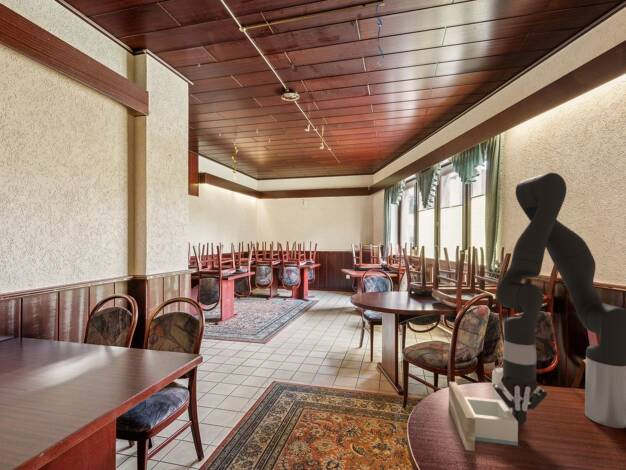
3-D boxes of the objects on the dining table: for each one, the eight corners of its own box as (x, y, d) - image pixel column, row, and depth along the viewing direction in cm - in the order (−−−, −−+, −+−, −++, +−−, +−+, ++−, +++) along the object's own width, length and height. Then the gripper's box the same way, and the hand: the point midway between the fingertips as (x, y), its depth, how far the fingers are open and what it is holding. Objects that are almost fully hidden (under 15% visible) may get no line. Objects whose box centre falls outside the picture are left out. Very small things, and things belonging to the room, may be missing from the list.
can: (520, 415, 97) (521, 374, 97) (498, 414, 97) (499, 373, 97) (508, 403, 104) (509, 365, 104) (487, 403, 104) (488, 365, 104)
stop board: (455, 408, 100) (455, 382, 100) (474, 451, 81) (475, 418, 81) (448, 407, 101) (448, 381, 101) (465, 449, 81) (466, 417, 81)
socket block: (501, 421, 94) (501, 400, 94) (517, 445, 83) (518, 421, 83) (460, 416, 96) (460, 396, 96) (470, 439, 85) (471, 416, 85)
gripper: (539, 354, 90) (539, 417, 90) (487, 351, 93) (487, 412, 93) (554, 365, 83) (554, 433, 83) (497, 361, 85) (497, 428, 85)
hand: (519, 422), depth 88 cm, fingers closed
